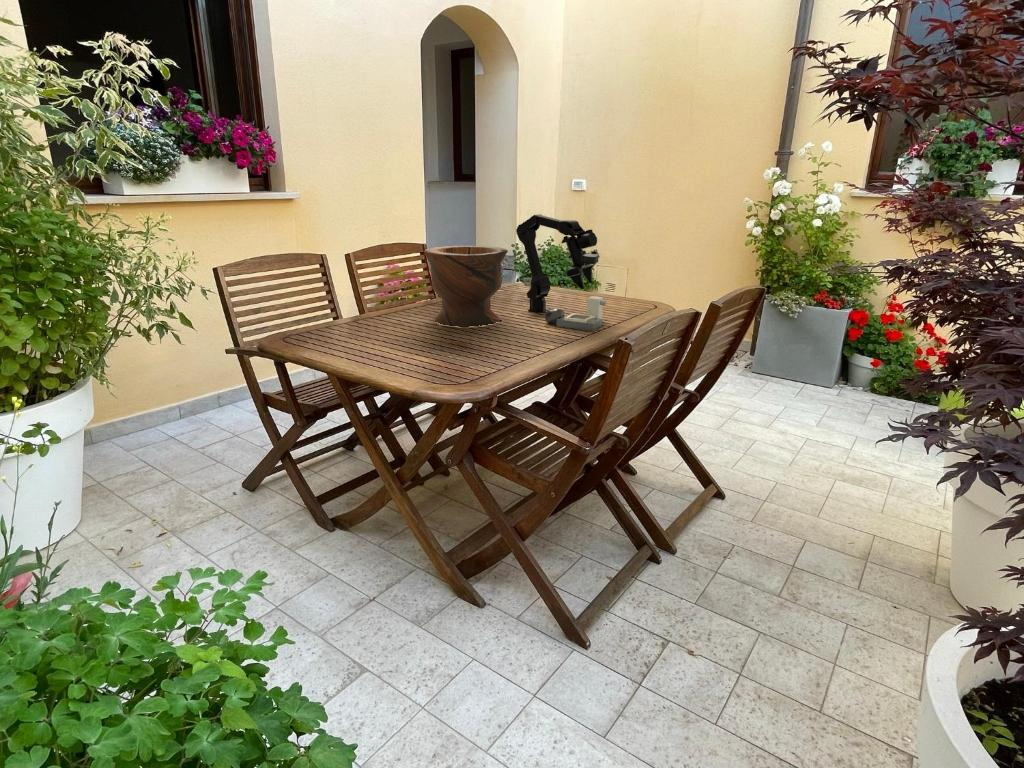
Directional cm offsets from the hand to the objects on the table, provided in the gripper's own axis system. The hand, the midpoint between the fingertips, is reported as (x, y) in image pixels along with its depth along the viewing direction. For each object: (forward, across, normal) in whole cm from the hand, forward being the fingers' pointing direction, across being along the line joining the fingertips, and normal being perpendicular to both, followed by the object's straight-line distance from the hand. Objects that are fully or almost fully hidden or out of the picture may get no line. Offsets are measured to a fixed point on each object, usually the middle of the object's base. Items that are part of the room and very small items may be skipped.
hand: (587, 286), depth 259 cm
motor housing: (+11, -17, +4) cm, 21 cm away
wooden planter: (-4, -29, +44) cm, 53 cm away
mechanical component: (+4, +26, +43) cm, 51 cm away
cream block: (+14, -5, -1) cm, 15 cm away
